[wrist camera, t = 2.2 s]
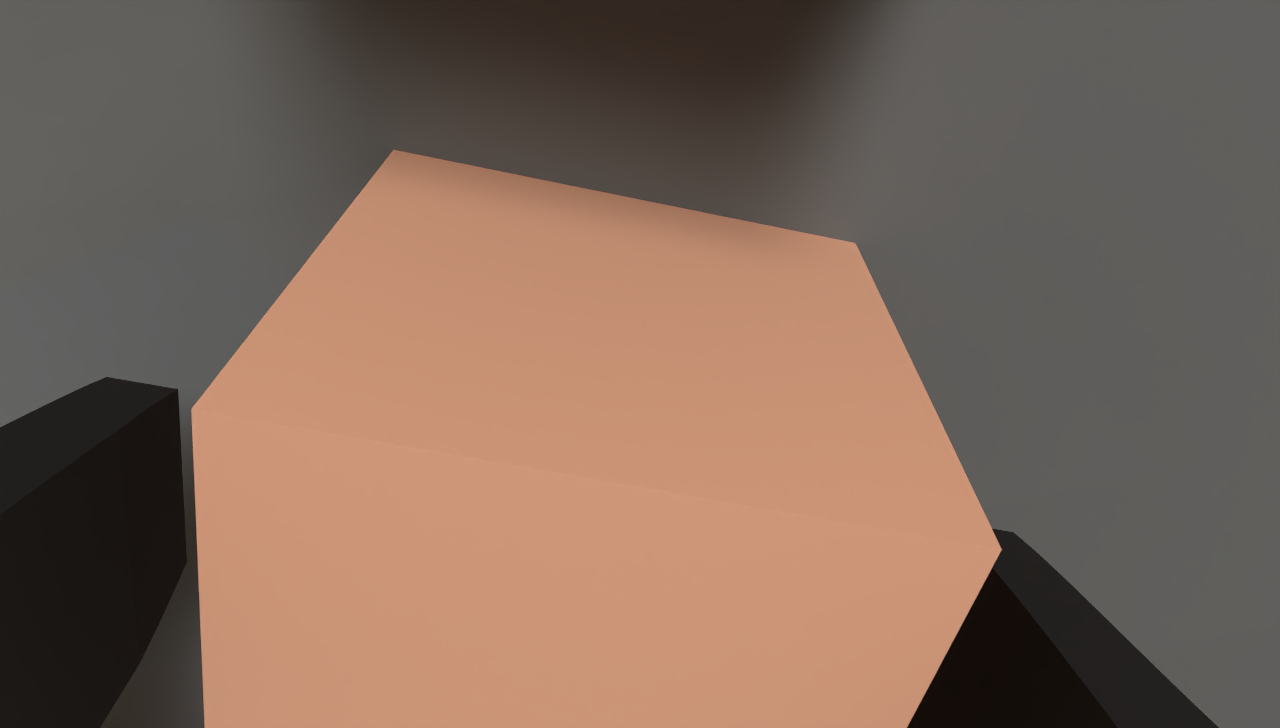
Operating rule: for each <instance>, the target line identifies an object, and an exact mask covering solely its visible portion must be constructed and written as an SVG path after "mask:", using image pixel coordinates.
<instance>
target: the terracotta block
mask: <svg viewBox="0 0 1280 728" xmlns="http://www.w3.org/2000/svg"><path fill="white" fill-rule="evenodd" d="M191 412H192V436H193V460H194V483H195V507H196V531H197V555H198V579H199V603H200V627H201V651H202V674H203V698H204V722H205V728H907V727H908V725H909V723H910V721H911V719H912V717H913V715H914V713H915V712H916V710H917V708H918V706H919V704H920V702H921V700H922V698H923V697H924V695H925V693H926V691H927V689H928V687H929V685H930V683H931V682H932V680H933V678H934V676H935V674H936V672H937V670H938V668H939V667H940V665H941V663H942V661H943V659H944V657H945V655H946V653H947V652H948V650H949V648H950V646H951V644H952V642H953V640H954V638H955V636H956V635H957V633H958V631H959V629H960V627H961V625H962V623H963V621H964V620H965V618H966V616H967V614H968V612H969V610H970V608H971V606H972V605H973V603H974V601H975V599H976V597H977V595H978V593H979V591H980V590H981V588H982V586H983V584H984V582H985V580H986V578H987V576H988V575H989V573H990V571H991V569H992V567H993V565H994V563H995V561H996V560H997V558H998V556H999V554H1000V552H1001V550H1002V549H1001V547H1000V545H999V543H998V541H997V539H996V536H995V534H994V532H993V530H992V528H991V526H990V524H989V522H988V520H987V518H986V516H985V513H984V511H983V509H982V507H981V505H980V503H979V501H978V499H977V497H976V495H975V493H974V490H973V488H972V486H971V484H970V482H969V480H968V478H967V476H966V474H965V472H964V470H963V467H962V465H961V463H960V461H959V459H958V457H957V455H956V453H955V451H954V449H953V446H952V444H951V442H950V440H949V438H948V436H947V434H946V432H945V430H944V428H943V426H942V423H941V421H940V419H939V417H938V415H937V413H936V411H935V409H934V407H933V405H932V403H931V400H930V398H929V396H928V394H927V392H926V390H925V388H924V386H923V384H922V382H921V380H920V377H919V375H918V373H917V371H916V369H915V367H914V365H913V363H912V361H911V359H910V357H909V354H908V352H907V350H906V348H905V346H904V344H903V342H902V340H901V338H900V336H899V334H898V331H897V329H896V327H895V325H894V323H893V321H892V319H891V317H890V315H889V313H888V310H887V308H886V306H885V304H884V302H883V300H882V298H881V296H880V294H879V292H878V290H877V287H876V285H875V283H874V281H873V279H872V277H871V275H870V273H869V271H868V269H867V267H866V264H865V262H864V260H863V258H862V256H861V254H860V252H859V250H858V248H857V246H856V244H855V243H852V242H847V241H842V240H837V239H832V238H827V237H822V236H817V235H812V234H807V233H802V232H797V231H792V230H787V229H783V228H778V227H773V226H768V225H763V224H758V223H753V222H748V221H743V220H738V219H733V218H728V217H723V216H718V215H713V214H708V213H704V212H699V211H694V210H689V209H684V208H679V207H674V206H669V205H664V204H659V203H654V202H649V201H644V200H639V199H634V198H629V197H625V196H620V195H615V194H610V193H605V192H600V191H595V190H590V189H585V188H580V187H575V186H570V185H565V184H560V183H555V182H550V181H546V180H541V179H536V178H531V177H526V176H521V175H516V174H511V173H506V172H501V171H496V170H491V169H486V168H481V167H476V166H471V165H467V164H462V163H457V162H452V161H447V160H442V159H437V158H432V157H427V156H422V155H417V154H412V153H407V152H402V151H397V150H393V151H392V152H391V154H390V155H389V156H388V158H387V159H386V160H385V161H384V163H383V164H382V165H381V167H380V168H379V169H378V170H377V172H376V173H375V174H374V176H373V177H372V178H371V179H370V181H369V182H368V183H367V185H366V186H365V187H364V188H363V190H362V191H361V192H360V194H359V195H358V196H357V197H356V199H355V200H354V201H353V203H352V204H351V205H350V206H349V208H348V209H347V210H346V212H345V213H344V214H343V215H342V217H341V218H340V219H339V220H338V222H337V223H336V224H335V226H334V227H333V228H332V229H331V231H330V232H329V233H328V235H327V236H326V237H325V238H324V240H323V241H322V242H321V244H320V245H319V246H318V247H317V249H316V250H315V251H314V253H313V254H312V255H311V256H310V258H309V259H308V260H307V262H306V263H305V264H304V265H303V267H302V268H301V269H300V271H299V272H298V273H297V274H296V276H295V277H294V278H293V279H292V281H291V282H290V283H289V285H288V286H287V287H286V288H285V290H284V291H283V292H282V294H281V295H280V296H279V297H278V299H277V300H276V301H275V303H274V304H273V305H272V306H271V308H270V309H269V310H268V312H267V313H266V314H265V315H264V317H263V318H262V319H261V321H260V322H259V323H258V324H257V326H256V327H255V328H254V330H253V331H252V332H251V333H250V335H249V336H248V337H247V339H246V340H245V341H244V342H243V344H242V345H241V346H240V347H239V349H238V350H237V351H236V353H235V354H234V355H233V356H232V358H231V359H230V360H229V362H228V363H227V364H226V365H225V367H224V368H223V369H222V371H221V372H220V373H219V374H218V376H217V377H216V378H215V380H214V381H213V382H212V383H211V385H210V386H209V387H208V389H207V390H206V391H205V392H204V394H203V395H202V396H201V398H200V399H199V400H198V401H197V403H196V404H195V405H194V406H193V408H192V409H191Z"/></svg>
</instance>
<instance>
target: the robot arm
mask: <svg viewBox="0 0 1280 728" xmlns="http://www.w3.org/2000/svg"><path fill="white" fill-rule="evenodd" d="M992 530H993V532H994V534H995V536H996V539H997V541H998V543H999V545H1000V547H1001V549H1002V550H1001V552H1000V554H999V556H998V558H997V560H996V561H995V563H994V565H993V567H992V569H991V571H990V573H989V575H988V576H987V578H986V580H985V582H984V584H983V586H982V588H981V590H980V591H979V593H978V595H977V597H976V599H975V601H974V603H973V605H972V606H971V608H970V610H969V612H968V614H967V616H966V618H965V620H964V621H963V623H962V625H961V627H960V629H959V631H958V633H957V635H956V636H955V638H954V640H953V642H952V644H951V646H950V648H949V650H948V652H947V653H946V655H945V657H944V659H943V661H942V663H941V665H940V667H939V668H938V670H937V672H936V674H935V676H934V678H933V680H932V682H931V683H930V685H929V687H928V689H927V691H926V693H925V695H924V697H923V698H922V700H921V702H920V704H919V706H918V708H917V710H916V712H915V713H914V715H913V717H912V719H911V721H910V723H909V725H908V727H907V728H1219V727H1217V726H1216V725H1215V724H1214V723H1213V722H1212V721H1211V720H1210V719H1209V718H1208V717H1207V716H1206V715H1205V714H1204V713H1203V712H1202V711H1201V710H1200V709H1198V708H1197V707H1196V706H1195V705H1194V704H1193V703H1192V702H1191V701H1190V700H1189V699H1188V698H1187V697H1186V696H1185V695H1184V694H1183V693H1182V692H1181V691H1180V690H1179V689H1178V688H1177V687H1176V686H1175V685H1173V684H1172V683H1171V682H1170V681H1169V680H1168V679H1167V678H1166V677H1165V676H1164V675H1163V674H1162V673H1161V672H1160V671H1159V670H1158V669H1157V668H1156V667H1155V666H1154V665H1153V664H1152V663H1151V662H1150V661H1149V660H1148V659H1147V658H1146V657H1145V656H1144V655H1143V654H1142V653H1141V652H1140V651H1138V650H1137V649H1136V648H1135V647H1134V646H1133V645H1132V644H1131V643H1130V642H1129V641H1128V640H1127V639H1126V638H1125V637H1124V636H1123V635H1122V634H1121V633H1120V632H1119V631H1118V630H1117V629H1116V628H1115V627H1114V626H1113V625H1112V624H1111V623H1110V622H1109V621H1108V620H1107V619H1106V618H1105V617H1104V616H1103V615H1102V614H1101V613H1100V612H1099V611H1098V610H1097V609H1096V608H1095V607H1094V606H1093V605H1092V604H1090V603H1089V602H1088V601H1087V600H1086V599H1085V598H1084V597H1083V596H1082V595H1081V594H1080V593H1079V592H1078V591H1077V590H1076V589H1075V588H1074V587H1073V586H1072V585H1071V584H1070V583H1069V582H1068V581H1067V580H1066V579H1065V578H1064V577H1062V576H1061V575H1060V574H1059V573H1058V572H1057V571H1056V570H1055V569H1054V568H1053V567H1052V566H1051V565H1050V564H1049V563H1048V562H1047V561H1045V560H1044V559H1043V558H1042V557H1041V556H1040V555H1039V554H1038V553H1037V552H1036V551H1034V550H1033V549H1032V548H1031V547H1030V546H1029V545H1028V544H1026V543H1025V542H1024V541H1023V540H1022V539H1020V538H1019V537H1018V536H1017V535H1016V534H1014V533H1013V532H1008V531H1002V530H996V529H992ZM186 563H187V558H186V538H185V518H184V498H183V479H182V459H181V439H180V420H179V400H178V389H173V388H167V387H162V386H156V385H150V384H144V383H138V382H132V381H127V380H121V379H115V378H109V377H106V378H103V379H101V380H99V381H96V382H94V383H92V384H89V385H87V386H85V387H83V388H80V389H78V390H76V391H74V392H72V393H70V394H67V395H65V396H63V397H61V398H59V399H57V400H55V401H53V402H51V403H49V404H47V405H45V406H43V407H41V408H39V409H37V410H35V411H32V412H30V413H28V414H26V415H24V416H22V417H20V418H18V419H16V420H14V421H12V422H10V423H8V424H6V425H4V426H2V427H0V728H100V726H101V725H102V723H103V722H104V720H105V718H106V717H107V715H108V714H109V712H110V710H111V709H112V707H113V706H114V704H115V702H116V701H117V699H118V698H119V696H120V694H121V693H122V691H123V690H124V688H125V686H126V685H127V683H128V681H129V680H130V678H131V676H132V675H133V673H134V672H135V670H136V668H137V667H138V665H139V663H140V661H141V659H142V657H143V655H144V653H145V651H146V649H147V647H148V645H149V643H150V641H151V639H152V637H153V634H154V632H155V630H156V628H157V626H158V624H159V622H160V620H161V618H162V616H163V614H164V611H165V609H166V607H167V605H168V602H169V600H170V598H171V596H172V594H173V591H174V589H175V587H176V585H177V582H178V580H179V578H180V576H181V574H182V571H183V569H184V567H185V565H186Z"/></svg>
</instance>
